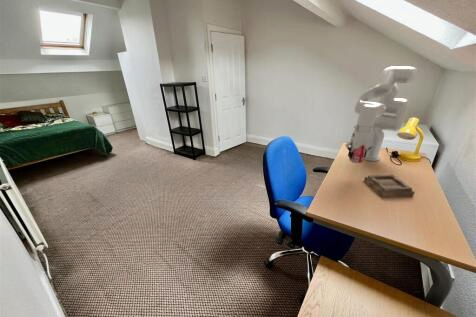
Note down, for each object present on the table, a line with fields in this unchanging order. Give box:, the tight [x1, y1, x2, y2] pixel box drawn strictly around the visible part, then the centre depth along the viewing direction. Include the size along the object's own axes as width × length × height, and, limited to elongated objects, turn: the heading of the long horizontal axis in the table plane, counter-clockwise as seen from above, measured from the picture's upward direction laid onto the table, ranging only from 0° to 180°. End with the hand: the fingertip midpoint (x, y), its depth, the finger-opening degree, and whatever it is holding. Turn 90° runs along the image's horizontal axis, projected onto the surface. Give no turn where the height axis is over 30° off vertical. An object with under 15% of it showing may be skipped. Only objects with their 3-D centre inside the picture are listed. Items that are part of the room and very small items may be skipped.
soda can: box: [348, 144, 366, 164], centre depth 115 cm, size 7×7×12 cm
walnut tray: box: [363, 174, 415, 199], centre depth 110 cm, size 16×16×4 cm
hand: (356, 156), depth 117 cm, fingers closed on soda can, 7 cm apart
